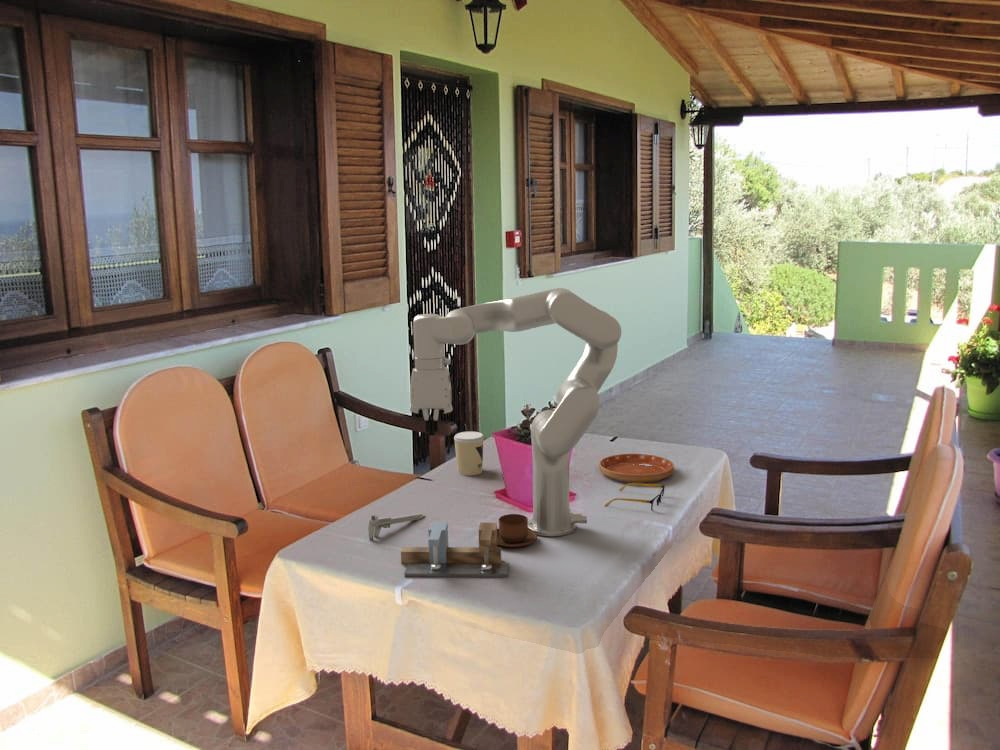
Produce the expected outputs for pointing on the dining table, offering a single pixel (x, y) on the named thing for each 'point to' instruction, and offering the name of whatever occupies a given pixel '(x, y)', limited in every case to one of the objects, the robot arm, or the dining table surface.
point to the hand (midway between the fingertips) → (432, 434)
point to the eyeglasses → (640, 499)
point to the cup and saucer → (514, 531)
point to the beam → (462, 550)
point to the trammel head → (438, 542)
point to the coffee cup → (469, 452)
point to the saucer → (636, 467)
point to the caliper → (388, 522)
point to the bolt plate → (456, 570)
